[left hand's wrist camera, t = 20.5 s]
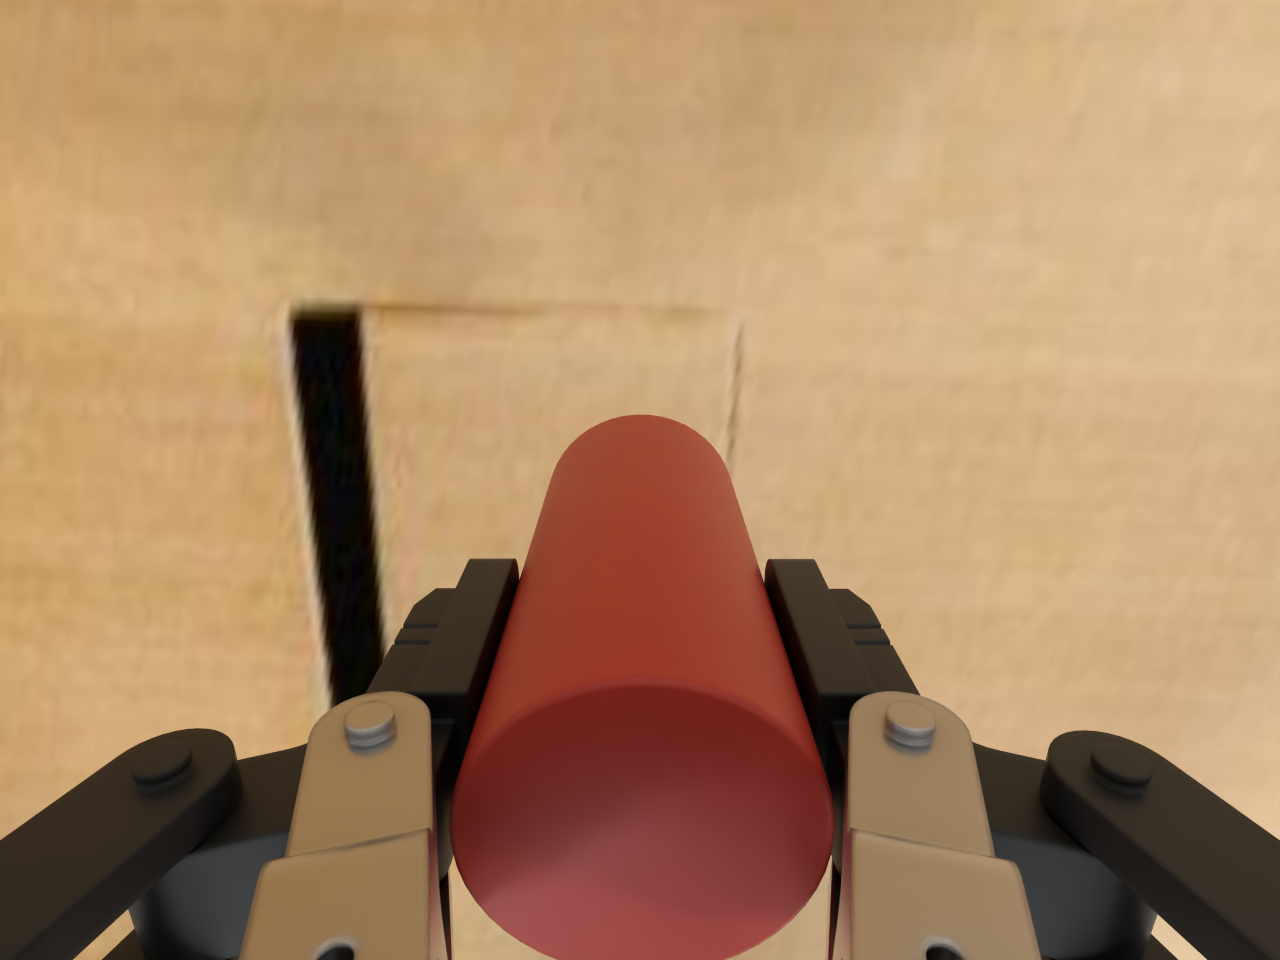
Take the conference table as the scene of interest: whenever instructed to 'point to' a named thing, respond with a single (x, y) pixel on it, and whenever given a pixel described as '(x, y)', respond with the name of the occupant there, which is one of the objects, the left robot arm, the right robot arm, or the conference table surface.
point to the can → (641, 722)
